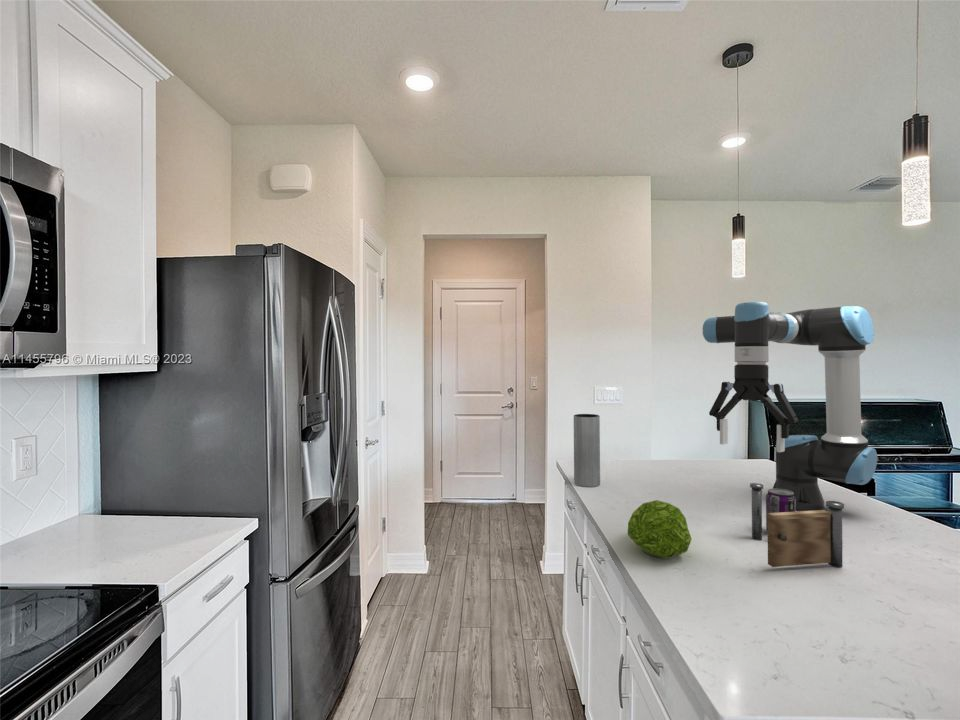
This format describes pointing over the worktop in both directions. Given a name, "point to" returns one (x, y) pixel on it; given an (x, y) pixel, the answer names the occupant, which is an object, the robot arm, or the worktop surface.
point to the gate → (798, 538)
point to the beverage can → (779, 502)
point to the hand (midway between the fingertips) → (750, 447)
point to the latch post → (756, 510)
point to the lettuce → (659, 529)
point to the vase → (587, 450)
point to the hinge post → (835, 532)
